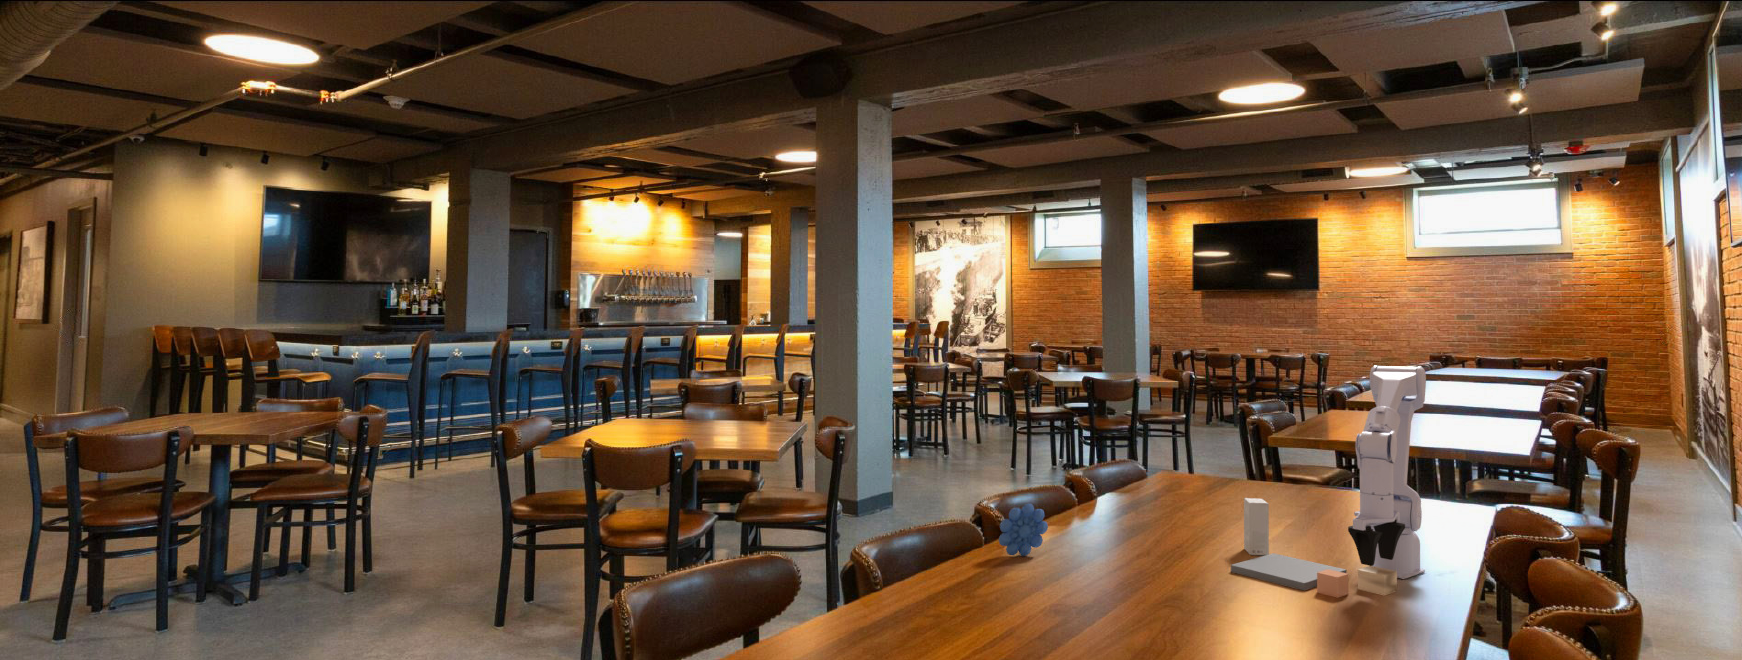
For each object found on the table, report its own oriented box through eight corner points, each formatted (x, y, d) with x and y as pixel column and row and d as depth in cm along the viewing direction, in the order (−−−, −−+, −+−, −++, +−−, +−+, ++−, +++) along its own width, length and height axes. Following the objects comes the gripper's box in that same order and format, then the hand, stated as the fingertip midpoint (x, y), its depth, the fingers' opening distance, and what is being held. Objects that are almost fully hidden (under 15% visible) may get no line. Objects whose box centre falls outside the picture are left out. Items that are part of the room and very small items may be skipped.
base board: (1273, 559, 191) (1273, 553, 191) (1346, 576, 178) (1346, 569, 178) (1230, 571, 182) (1230, 564, 182) (1304, 590, 169) (1304, 583, 169)
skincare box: (1269, 556, 195) (1269, 503, 195) (1249, 555, 195) (1249, 502, 195) (1262, 549, 201) (1262, 498, 201) (1243, 548, 201) (1243, 497, 201)
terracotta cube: (1328, 589, 170) (1327, 569, 170) (1348, 594, 167) (1348, 573, 167) (1317, 592, 168) (1317, 572, 168) (1337, 598, 165) (1337, 577, 165)
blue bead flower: (1041, 549, 202) (1041, 499, 202) (1051, 557, 195) (1051, 504, 195) (993, 552, 200) (993, 500, 200) (1002, 560, 194) (1001, 506, 194)
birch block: (1370, 585, 173) (1370, 565, 173) (1397, 591, 169) (1396, 571, 168) (1357, 589, 170) (1357, 569, 170) (1384, 596, 166) (1384, 575, 166)
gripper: (1373, 485, 177) (1374, 551, 176) (1336, 493, 168) (1337, 562, 168) (1410, 491, 171) (1411, 559, 171) (1374, 499, 163) (1374, 571, 163)
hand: (1377, 561), depth 169 cm, fingers open, 7 cm apart
